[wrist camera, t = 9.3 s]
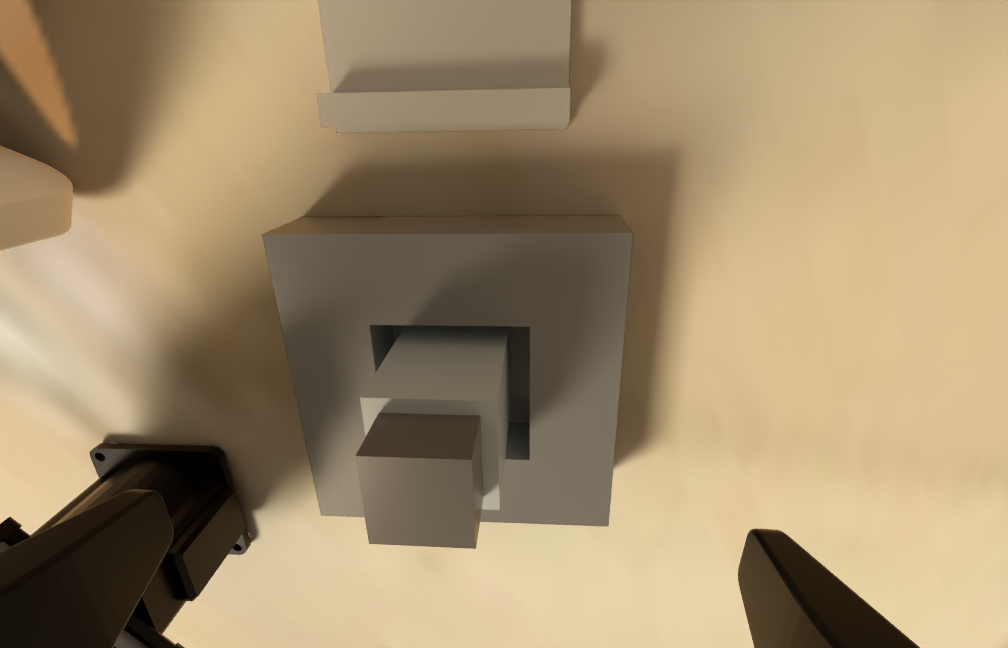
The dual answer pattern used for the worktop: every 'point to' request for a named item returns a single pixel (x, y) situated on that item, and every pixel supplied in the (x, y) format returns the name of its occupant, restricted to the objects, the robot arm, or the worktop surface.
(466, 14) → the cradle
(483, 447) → the plug
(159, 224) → the worktop surface
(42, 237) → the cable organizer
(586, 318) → the socket plate
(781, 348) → the worktop surface
